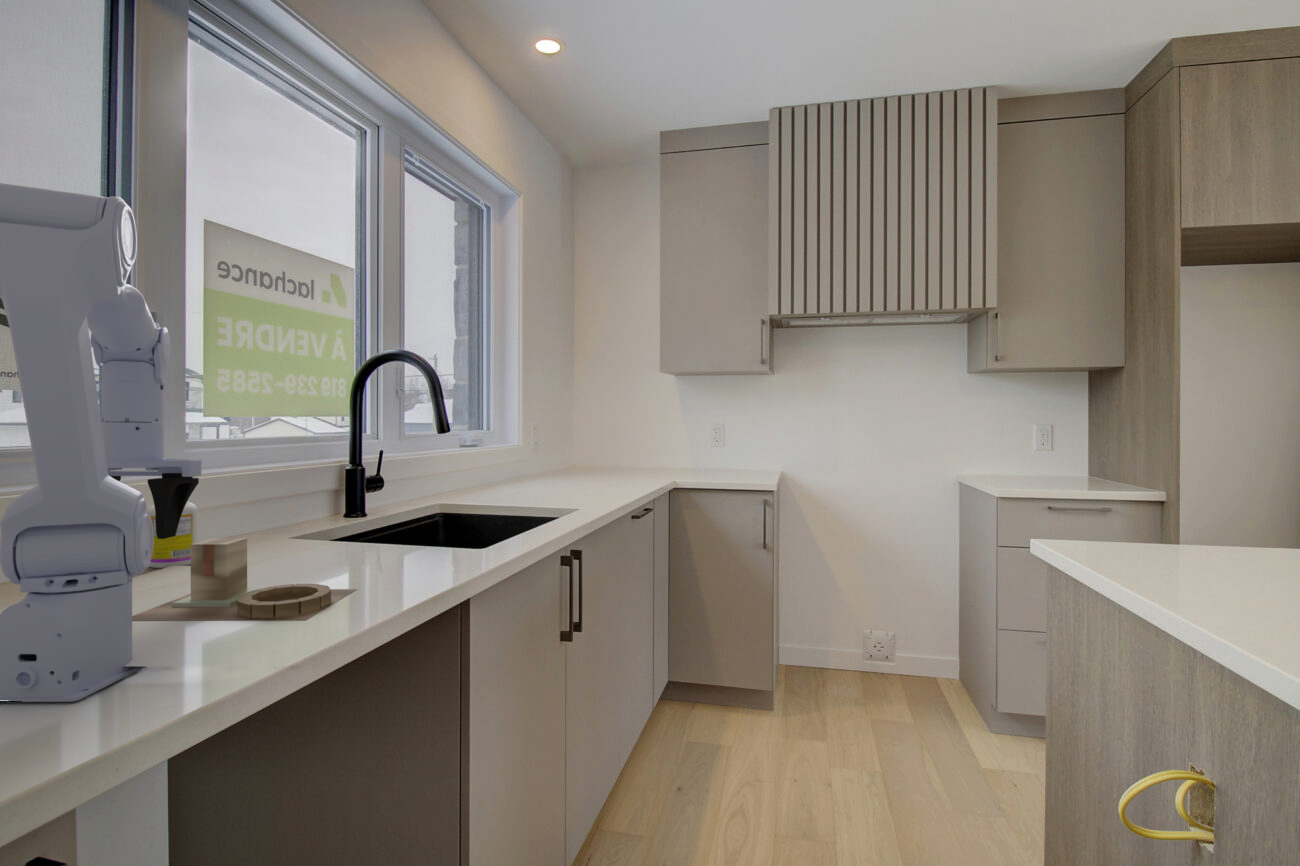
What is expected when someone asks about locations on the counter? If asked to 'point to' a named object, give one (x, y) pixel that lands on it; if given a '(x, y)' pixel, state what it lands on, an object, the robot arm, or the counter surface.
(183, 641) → the counter surface
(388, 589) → the counter surface
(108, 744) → the counter surface
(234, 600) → the sage pad
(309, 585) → the base board
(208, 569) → the peg
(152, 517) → the supplement bottle
